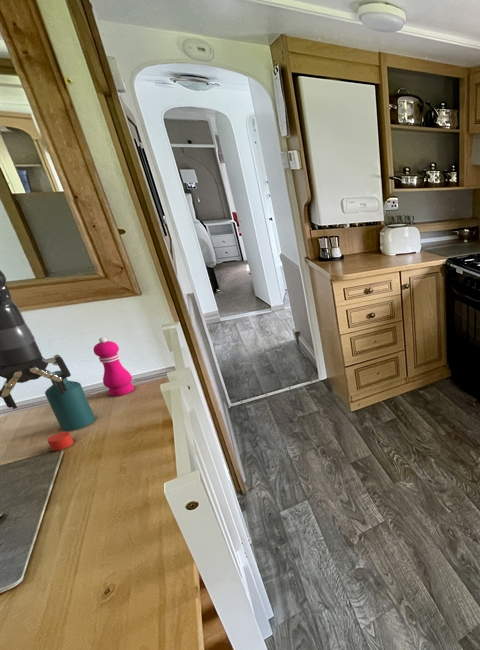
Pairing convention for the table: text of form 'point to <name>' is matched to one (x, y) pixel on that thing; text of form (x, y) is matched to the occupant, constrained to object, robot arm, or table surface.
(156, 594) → the table surface
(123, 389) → the pepper mill
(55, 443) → the cap
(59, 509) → the table surface
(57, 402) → the bottle
